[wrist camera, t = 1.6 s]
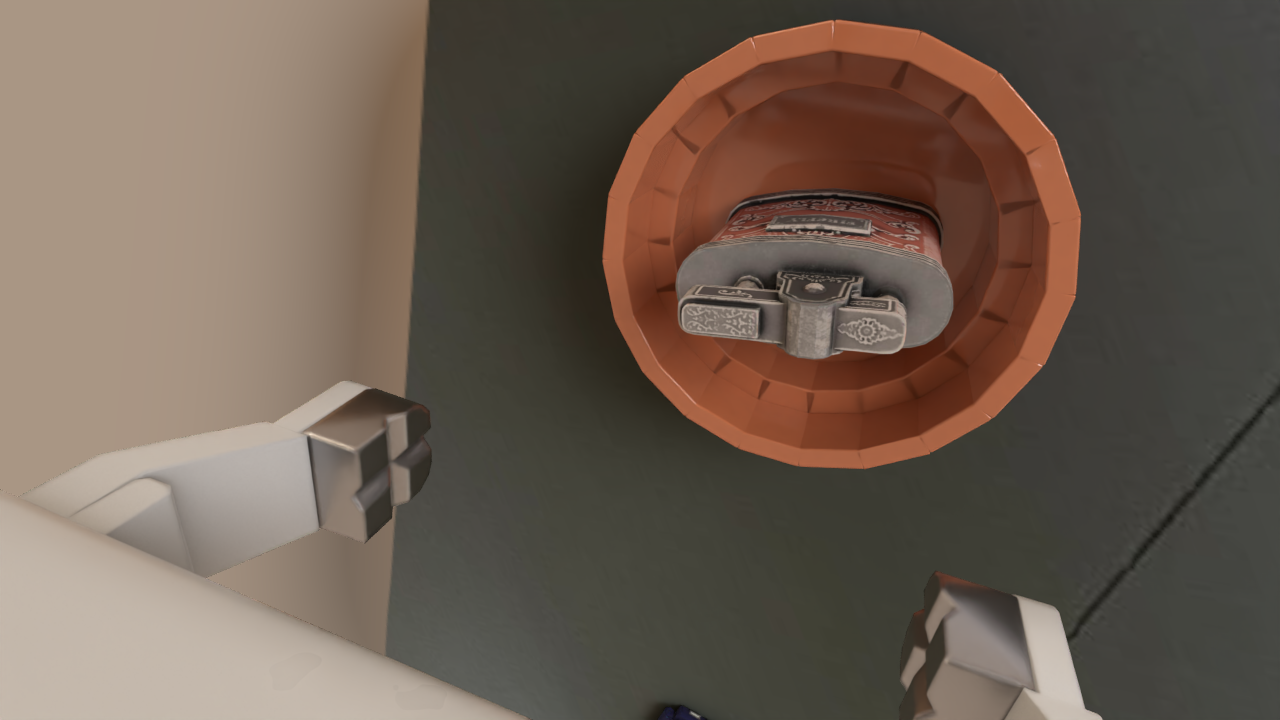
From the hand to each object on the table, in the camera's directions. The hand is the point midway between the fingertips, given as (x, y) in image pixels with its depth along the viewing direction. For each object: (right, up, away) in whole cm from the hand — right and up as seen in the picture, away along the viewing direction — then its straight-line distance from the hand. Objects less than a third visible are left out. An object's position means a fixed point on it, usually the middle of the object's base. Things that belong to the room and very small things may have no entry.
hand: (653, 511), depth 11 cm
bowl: (+7, +8, +16) cm, 19 cm away
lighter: (+7, +7, +16) cm, 19 cm away
